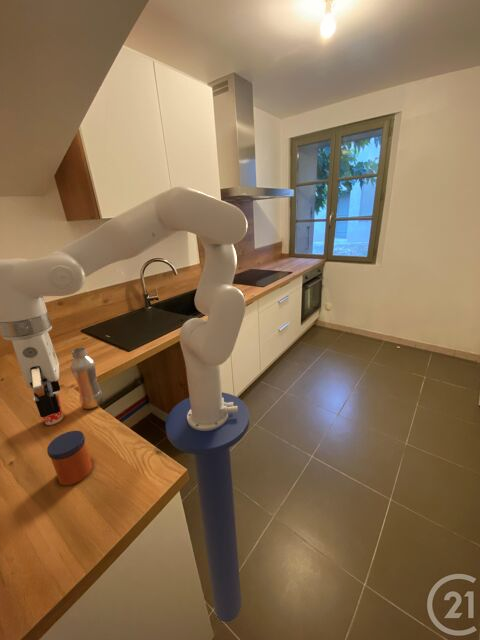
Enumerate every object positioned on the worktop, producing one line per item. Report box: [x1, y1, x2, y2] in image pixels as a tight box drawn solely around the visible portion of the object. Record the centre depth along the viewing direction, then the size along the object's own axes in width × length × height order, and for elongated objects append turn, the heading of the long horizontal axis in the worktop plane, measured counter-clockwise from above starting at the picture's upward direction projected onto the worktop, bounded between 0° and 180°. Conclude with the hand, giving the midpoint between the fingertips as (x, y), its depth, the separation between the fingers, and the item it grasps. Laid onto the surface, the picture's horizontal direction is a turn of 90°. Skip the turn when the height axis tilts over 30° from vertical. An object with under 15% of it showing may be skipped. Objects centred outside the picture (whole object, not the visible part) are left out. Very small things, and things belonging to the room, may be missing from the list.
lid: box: [46, 430, 86, 459], centre depth 59 cm, size 7×7×1 cm
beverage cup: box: [32, 391, 64, 426], centre depth 78 cm, size 6×6×14 cm
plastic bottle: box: [70, 347, 104, 410], centre depth 83 cm, size 6×7×20 cm
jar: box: [50, 441, 93, 486], centre depth 60 cm, size 7×7×9 cm
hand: (51, 402), depth 55 cm, fingers open, 8 cm apart
